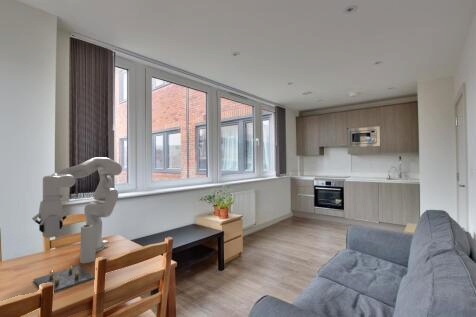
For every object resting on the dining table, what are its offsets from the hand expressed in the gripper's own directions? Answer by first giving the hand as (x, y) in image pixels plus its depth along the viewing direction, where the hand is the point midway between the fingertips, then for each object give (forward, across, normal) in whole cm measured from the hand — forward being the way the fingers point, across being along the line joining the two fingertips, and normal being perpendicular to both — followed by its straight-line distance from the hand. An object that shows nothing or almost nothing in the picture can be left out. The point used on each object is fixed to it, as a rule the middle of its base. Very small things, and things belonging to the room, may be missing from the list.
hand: (51, 229), depth 136 cm
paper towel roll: (+22, -16, +4) cm, 28 cm away
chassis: (+22, 0, +19) cm, 29 cm away
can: (+4, 0, 0) cm, 4 cm away
